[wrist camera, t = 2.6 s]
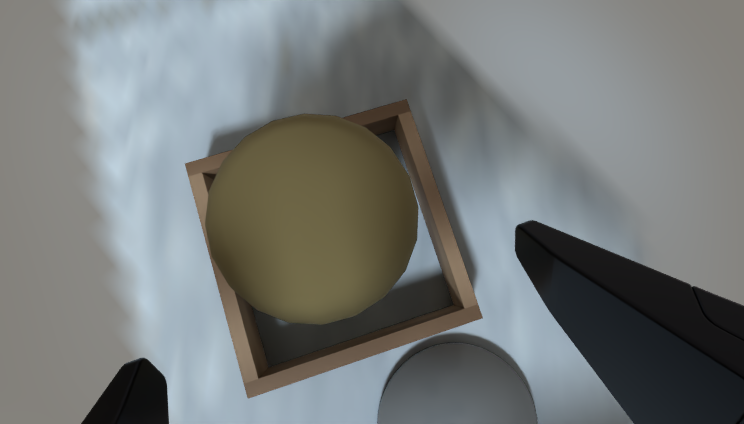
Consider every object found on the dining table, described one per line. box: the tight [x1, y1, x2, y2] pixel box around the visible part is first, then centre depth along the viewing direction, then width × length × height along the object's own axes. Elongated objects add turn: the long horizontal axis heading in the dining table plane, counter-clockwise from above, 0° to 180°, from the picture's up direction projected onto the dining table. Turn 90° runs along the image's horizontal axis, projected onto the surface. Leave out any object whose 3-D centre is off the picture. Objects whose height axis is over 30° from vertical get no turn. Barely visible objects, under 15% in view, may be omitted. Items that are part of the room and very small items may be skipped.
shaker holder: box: [185, 99, 483, 398], centre depth 18 cm, size 10×10×2 cm
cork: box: [205, 114, 418, 325], centre depth 14 cm, size 6×6×11 cm
